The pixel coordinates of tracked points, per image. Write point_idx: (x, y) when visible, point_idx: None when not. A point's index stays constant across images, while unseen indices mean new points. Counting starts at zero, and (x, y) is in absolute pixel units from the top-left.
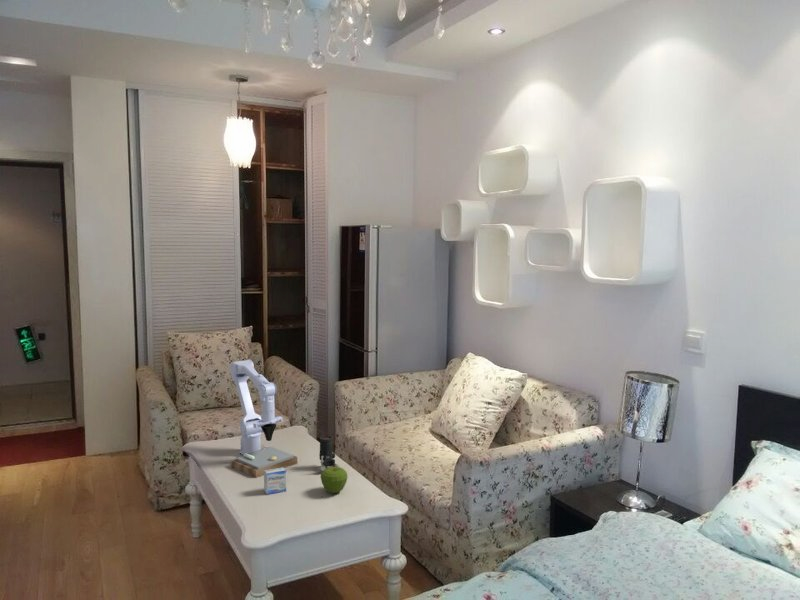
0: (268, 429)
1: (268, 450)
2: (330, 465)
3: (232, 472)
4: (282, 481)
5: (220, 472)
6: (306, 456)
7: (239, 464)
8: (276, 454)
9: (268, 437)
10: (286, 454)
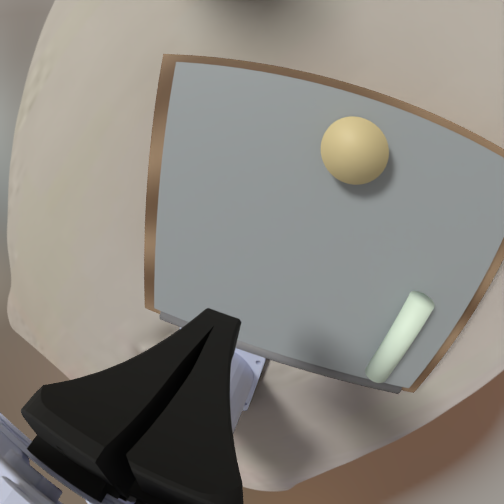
0: (216, 462)
1: (207, 297)
2: None
3: (473, 325)
4: None
5: (476, 365)
6: (89, 104)
7: (455, 335)
8: (236, 198)
9: (231, 353)
10: (192, 125)
